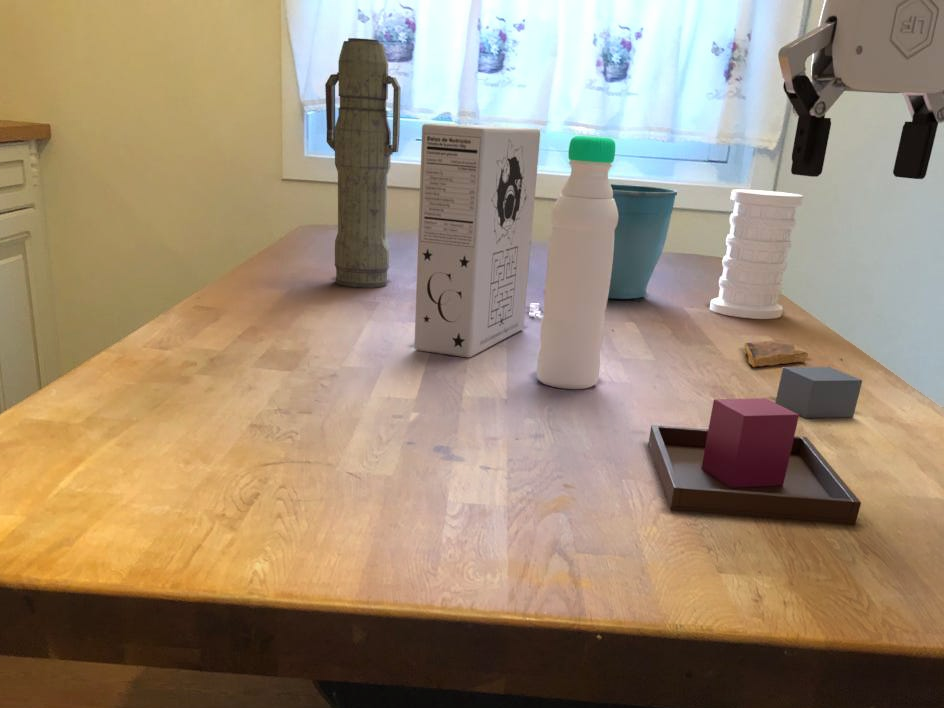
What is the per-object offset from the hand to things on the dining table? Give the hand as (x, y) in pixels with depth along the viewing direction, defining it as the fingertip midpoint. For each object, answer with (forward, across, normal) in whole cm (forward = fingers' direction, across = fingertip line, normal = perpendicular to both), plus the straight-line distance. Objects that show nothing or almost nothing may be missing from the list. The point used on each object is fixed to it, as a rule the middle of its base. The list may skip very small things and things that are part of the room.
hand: (857, 176), depth 78 cm
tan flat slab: (+24, +23, +39) cm, 52 cm away
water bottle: (+24, -10, +31) cm, 40 cm away
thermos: (+23, -20, +98) cm, 102 cm away
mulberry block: (+23, -9, -4) cm, 25 cm away
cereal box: (+23, -14, +54) cm, 60 cm away
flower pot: (+24, +22, +89) cm, 95 cm away
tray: (+24, -9, -4) cm, 26 cm away
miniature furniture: (+24, -2, +71) cm, 75 cm away
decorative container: (+24, +40, +74) cm, 87 cm away
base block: (+24, +14, +17) cm, 33 cm away
